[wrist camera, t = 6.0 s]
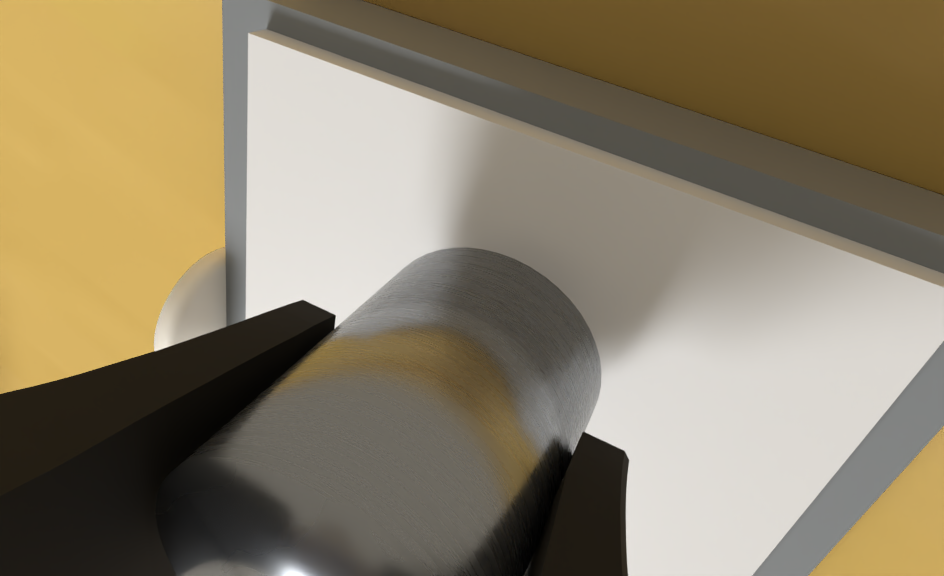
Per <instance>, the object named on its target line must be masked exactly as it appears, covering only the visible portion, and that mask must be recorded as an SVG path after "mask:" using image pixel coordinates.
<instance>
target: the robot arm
mask: <svg viewBox="0 0 944 576" xmlns="http://www.w3.org/2000/svg"><path fill="white" fill-rule="evenodd" d="M335 319H336V315H334V314H332V313H330V312H328V311H326V310H324V309H322V308H320V307H317V306H315V305H313V304H311V303H309V302H307V301H305V300H300V301H297V302H294V303H291V304H288V305H285V306H282V307H279V308H276V309H274V310H271V311H268V312H265V313H262V314H260V315H257V316H254V317H251V318H249V319H246V320H243V321H240V322H238V323H235V324H232V325H229V326H227V327H224V328H221V329H218V330H215V331H213V332H210V333H207V334H204V335H201V336H198V337H195V338H192V339H189V340H187V341H184V342H181V343H178V344H175V345H172V346H169V347H166V348H164V349H160V350H157V351H154V352H151V353H148V354H144V355H141V356H138V357H135V358H131V359H128V360H125V361H121V362H118V363H115V364H112V365H108V366H105V367H102V368H99V369H95V370H92V371H89V372H85V373H82V374H79V375H75V376H71V377H68V378H64V379H60V380H57V381H53V382H49V383H45V384H41V385H37V386H33V387H29V388H25V389H20V390H16V391H12V392H7V393H3V394H0V576H175V575H176V573H175V571H174V569H173V567H172V565H171V563H170V562H169V559H168V557H167V555H166V552H165V550H164V548H163V545H162V542H161V539H160V535H159V532H158V527H157V521H156V500H157V495H158V491H159V489H160V487H161V485H162V482H163V481H164V480H165V479H166V477H167V476H168V475H169V474H170V473H171V472H172V471H173V470H174V469H175V468H176V467H178V466H179V465H180V464H181V463H182V462H183V461H184V460H186V459H187V458H188V457H189V456H190V455H191V454H192V453H194V452H195V451H196V450H197V449H198V448H199V447H200V446H202V445H203V444H204V443H205V442H206V441H207V440H208V439H209V438H211V437H212V436H213V435H214V434H215V433H216V432H217V431H219V430H220V429H221V428H222V427H223V426H224V425H225V424H227V423H228V422H229V421H230V420H231V419H232V418H233V417H235V416H236V415H237V414H238V413H239V412H240V411H241V410H243V409H244V408H245V407H246V406H247V405H248V404H249V403H250V402H252V401H253V400H254V399H255V398H256V397H257V396H258V395H260V394H261V393H262V392H263V391H264V390H265V389H266V388H268V387H269V386H270V385H271V384H272V383H273V382H274V381H276V380H277V379H278V378H279V377H280V376H281V375H282V374H284V373H285V372H286V371H287V370H288V369H289V368H290V367H292V366H293V365H294V364H295V363H296V362H297V361H298V360H299V359H301V358H302V357H303V356H304V355H305V354H306V353H307V352H309V351H310V350H311V349H312V348H313V347H314V346H315V345H317V344H318V343H319V342H320V341H321V340H322V339H323V338H325V337H326V336H327V335H328V334H329V333H330V332H331V331H333V330H334V328H335ZM628 466H629V459H628V457H627V454H626V452H625V451H624V450H622V449H620V448H617V447H615V446H613V445H611V444H609V443H607V442H605V441H603V440H600V439H598V438H596V437H594V436H592V435H590V434H588V433H586V432H582V435H581V437H580V439H579V441H578V444H577V446H576V448H575V450H574V453H573V455H572V457H571V460H570V462H569V464H568V467H567V469H566V471H565V474H564V476H563V479H562V481H561V483H560V486H559V488H558V491H557V493H556V495H555V498H554V500H553V503H552V505H551V507H550V510H549V513H548V516H547V519H546V522H545V525H544V528H543V531H542V533H541V536H540V538H539V541H538V543H537V546H536V548H535V551H534V553H533V556H532V558H531V560H530V563H529V565H528V568H527V570H526V572H525V575H524V576H628V568H627V549H626V488H627V475H628Z"/></svg>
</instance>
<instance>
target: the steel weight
mask: <svg viewBox="0 0 944 576" xmlns="http://www.w3.org/2000/svg"><path fill="white" fill-rule="evenodd" d="M600 388H601V364H600V357H599V353H598V349H597V346H596V342H595V340H594V338H593V335H592V333H591V331H590V328H589V327H588V325H587V323H586V322H585V320H584V318H583V316H582V315H581V313H580V312H579V311H578V309H577V308H576V307H575V305H574V304H573V303H572V301H571V300H570V299H569V298H568V297H567V296H566V295H565V294H564V293H563V292H562V291H561V290H560V289H559V288H558V287H557V286H556V285H555V284H553V283H552V282H551V281H550V280H549V279H547V278H546V277H545V276H543V275H542V274H540V273H539V272H537V271H536V270H534V269H533V268H531V267H530V266H528V265H526V264H524V263H522V262H520V261H518V260H516V259H514V258H511V257H508V256H506V255H503V254H500V253H497V252H493V251H489V250H484V249H477V248H468V247H464V248H448V249H441V250H437V251H434V252H431V253H428V254H425V255H423V256H421V257H419V258H417V259H415V260H414V261H412V262H411V263H410V264H408V265H407V266H405V267H404V268H403V269H402V270H401V271H400V272H399V273H397V274H396V275H395V276H394V277H393V278H392V279H391V280H389V281H388V282H387V283H386V284H385V285H384V286H383V287H381V288H380V289H379V290H378V291H377V292H376V293H375V294H374V295H372V296H371V297H370V298H369V299H368V300H367V301H366V302H364V303H363V304H362V305H361V306H360V307H359V308H358V309H356V310H355V311H354V312H353V313H352V314H351V315H350V316H348V317H347V318H346V319H345V320H344V321H343V322H342V323H340V324H339V325H338V326H337V327H336V328H335V329H334V330H333V331H331V332H330V333H329V334H328V335H327V336H326V337H325V338H323V339H322V340H321V341H320V342H319V343H318V344H317V345H315V346H314V347H313V348H312V349H311V350H310V351H309V352H307V353H306V354H305V355H304V356H303V357H302V358H301V359H299V360H298V361H297V362H296V363H295V364H294V365H293V366H292V367H290V368H289V369H288V370H287V371H286V372H285V373H284V374H282V375H281V376H280V377H279V378H278V379H277V380H276V381H274V382H273V383H272V384H271V385H270V386H269V387H268V388H266V389H265V390H264V391H263V392H262V393H261V394H260V395H258V396H257V397H256V398H255V399H254V400H253V401H252V402H250V403H249V404H248V405H247V406H246V407H245V408H244V409H243V410H241V411H240V412H239V413H238V414H237V415H236V416H235V417H233V418H232V419H231V420H230V421H229V422H228V423H227V424H225V425H224V426H223V427H222V428H221V429H220V430H219V431H217V432H216V433H215V434H214V435H213V436H212V437H211V438H209V439H208V440H207V441H206V442H205V443H204V444H203V445H202V446H200V447H199V448H198V449H197V450H196V451H195V452H194V453H192V454H191V455H190V456H189V457H188V458H187V459H186V460H184V461H183V462H182V463H181V464H180V465H179V466H178V467H176V468H175V469H174V470H173V471H172V472H171V473H170V474H169V475H168V476H167V477H166V479H165V480H164V481H163V482H162V485H161V487H160V489H159V491H158V495H157V500H156V521H157V527H158V532H159V535H160V539H161V542H162V545H163V548H164V550H165V552H166V555H167V557H168V559H169V562H170V563H171V565H172V567H173V569H174V571H175V573H176V575H177V576H524V575H525V572H526V570H527V568H528V565H529V563H530V560H531V558H532V556H533V553H534V551H535V548H536V546H537V543H538V541H539V538H540V536H541V533H542V531H543V528H544V525H545V522H546V519H547V516H548V513H549V510H550V507H551V505H552V503H553V500H554V498H555V495H556V493H557V491H558V488H559V486H560V483H561V481H562V479H563V476H564V474H565V471H566V469H567V467H568V464H569V462H570V460H571V457H572V455H573V453H574V450H575V448H576V446H577V444H578V441H579V439H580V437H581V435H582V432H585V430H586V428H587V426H588V423H589V421H590V418H591V416H592V414H593V411H594V409H595V406H596V404H597V401H598V398H599V394H600Z"/></svg>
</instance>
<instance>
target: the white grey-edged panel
mask: <svg viewBox="0 0 944 576" xmlns="http://www.w3.org/2000/svg"><path fill="white" fill-rule="evenodd" d="M222 15H223V93H224V171H225V247H223V248H220V249H217V250H214V251H212V252H210V253H208V254H207V255H205V256H204V257H202V258H201V259H199V260H198V261H197V262H196V263H195V264H193V265H192V266H191V267H190V268H189V269H188V270H187V271H186V272H185V274H184V275H183V276H182V277H181V278H180V279H179V281H178V282H177V284H176V285H175V286H174V288H173V289H172V291H171V293H170V294H169V296H168V298H167V300H166V302H165V304H164V306H163V308H162V311H161V313H160V316H159V319H158V322H157V326H156V331H155V338H154V351H157V350H160V349H164V348H166V347H169V346H172V345H175V344H178V343H181V342H184V341H187V340H189V339H192V338H195V337H198V336H201V335H204V334H207V333H210V332H213V331H215V330H218V329H221V328H224V327H227V326H229V325H232V324H235V323H238V322H240V321H243V320H246V319H249V318H251V317H254V316H257V315H260V314H262V313H265V312H268V311H271V310H274V309H276V308H279V307H282V306H285V305H288V304H291V303H294V302H297V301H300V300H305V301H307V302H309V303H311V304H313V305H315V306H317V307H320V308H322V309H324V310H326V311H328V312H330V313H332V314H334V315H336V319H335V328H336V327H337V326H338V325H339V324H340V323H342V322H343V321H344V320H345V319H346V318H347V317H348V316H350V315H351V314H352V313H353V312H354V311H355V310H356V309H358V308H359V307H360V306H361V305H362V304H363V303H364V302H366V301H367V300H368V299H369V298H370V297H371V296H372V295H374V294H375V293H376V292H377V291H378V290H379V289H380V288H381V287H383V286H384V285H385V284H386V283H387V282H388V281H389V280H391V279H392V278H393V277H394V276H395V275H396V274H397V273H399V272H400V271H401V270H402V269H403V268H404V267H405V266H407V265H408V264H410V263H411V262H412V261H414V260H415V259H417V258H419V257H421V256H423V255H425V254H428V253H431V252H434V251H437V250H441V249H448V248H464V247H468V248H477V249H484V250H489V251H493V252H497V253H500V254H503V255H506V256H508V257H511V258H514V259H516V260H518V261H520V262H522V263H524V264H526V265H528V266H530V267H531V268H533V269H534V270H536V271H537V272H539V273H540V274H542V275H543V276H545V277H546V278H547V279H549V280H550V281H551V282H552V283H553V284H555V285H556V286H557V287H558V288H559V289H560V290H561V291H562V292H563V293H564V294H565V295H566V296H567V297H568V298H569V299H570V300H571V301H572V303H573V304H574V305H575V307H576V308H577V309H578V311H579V312H580V313H581V315H582V316H583V318H584V320H585V322H586V323H587V325H588V327H589V328H590V331H591V333H592V335H593V338H594V340H595V342H596V346H597V349H598V353H599V357H600V364H601V388H600V394H599V398H598V401H597V404H596V406H595V409H594V411H593V414H592V416H591V418H590V421H589V423H588V426H587V428H586V430H585V432H586V433H588V434H590V435H592V436H594V437H596V438H598V439H600V440H603V441H605V442H607V443H609V444H611V445H613V446H615V447H617V448H620V449H622V450H624V451H625V452H626V454H627V457H628V459H629V466H628V475H627V488H626V549H627V568H628V576H808V575H809V574H810V573H811V572H812V571H813V570H814V568H815V567H816V566H817V565H818V564H819V563H820V562H821V561H822V560H823V559H824V557H825V556H826V555H827V554H828V553H829V552H830V551H831V550H832V549H833V547H834V546H835V545H836V544H837V543H838V542H839V541H840V540H841V539H842V538H843V536H844V535H845V534H846V533H847V532H848V531H849V530H850V529H851V528H852V526H853V525H854V524H855V523H856V522H857V521H858V520H859V519H860V518H861V517H862V515H863V514H864V513H865V512H866V511H867V510H868V509H869V508H870V507H871V505H872V504H873V503H874V502H875V501H876V500H877V499H878V498H879V497H880V496H881V494H882V493H883V492H884V491H885V490H886V489H887V488H888V487H889V486H890V485H891V483H892V482H893V481H894V480H895V479H896V478H897V477H898V476H899V475H900V473H901V472H902V471H903V470H904V469H905V468H906V467H907V466H908V465H909V464H910V462H911V461H912V460H913V459H914V458H915V457H916V456H917V455H918V454H919V452H920V451H921V450H922V449H923V448H924V447H925V446H926V445H927V444H928V443H929V441H930V440H931V439H932V438H933V437H934V436H935V435H936V434H937V433H938V431H939V430H940V429H941V428H942V427H943V426H944V195H941V194H938V193H935V192H932V191H929V190H926V189H924V188H921V187H918V186H915V185H912V184H909V183H906V182H903V181H900V180H897V179H894V178H891V177H888V176H885V175H882V174H879V173H876V172H873V171H870V170H867V169H864V168H861V167H858V166H855V165H852V164H849V163H846V162H843V161H840V160H837V159H834V158H831V157H828V156H825V155H822V154H819V153H816V152H813V151H810V150H807V149H804V148H801V147H798V146H795V145H792V144H789V143H786V142H783V141H780V140H777V139H774V138H771V137H768V136H765V135H762V134H759V133H756V132H753V131H750V130H748V129H745V128H742V127H739V126H736V125H733V124H730V123H727V122H724V121H721V120H718V119H715V118H712V117H709V116H706V115H703V114H700V113H697V112H694V111H691V110H688V109H685V108H682V107H679V106H676V105H673V104H670V103H667V102H664V101H661V100H658V99H655V98H652V97H649V96H646V95H643V94H640V93H637V92H634V91H631V90H628V89H625V88H622V87H619V86H616V85H613V84H610V83H607V82H604V81H601V80H598V79H595V78H592V77H589V76H586V75H583V74H580V73H577V72H574V71H571V70H569V69H566V68H563V67H560V66H557V65H554V64H551V63H548V62H545V61H542V60H539V59H536V58H533V57H530V56H527V55H524V54H521V53H518V52H515V51H512V50H509V49H506V48H503V47H500V46H497V45H494V44H491V43H488V42H485V41H482V40H479V39H476V38H473V37H470V36H467V35H464V34H461V33H458V32H455V31H452V30H449V29H446V28H443V27H440V26H437V25H434V24H431V23H428V22H425V21H422V20H419V19H416V18H413V17H410V16H407V15H404V14H401V13H398V12H395V11H392V10H390V9H387V8H384V7H381V6H378V5H375V4H372V3H369V2H366V1H363V0H222ZM335 328H334V329H335Z"/></svg>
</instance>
